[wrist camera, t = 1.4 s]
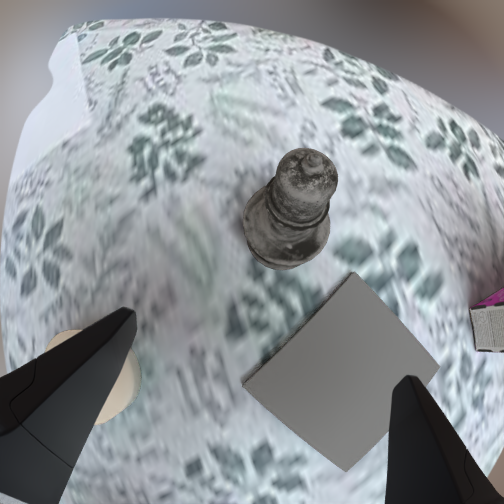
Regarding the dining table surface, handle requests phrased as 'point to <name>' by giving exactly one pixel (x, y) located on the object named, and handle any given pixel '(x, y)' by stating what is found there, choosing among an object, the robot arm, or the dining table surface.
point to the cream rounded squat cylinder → (122, 389)
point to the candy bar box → (489, 323)
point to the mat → (342, 374)
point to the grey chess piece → (292, 211)
